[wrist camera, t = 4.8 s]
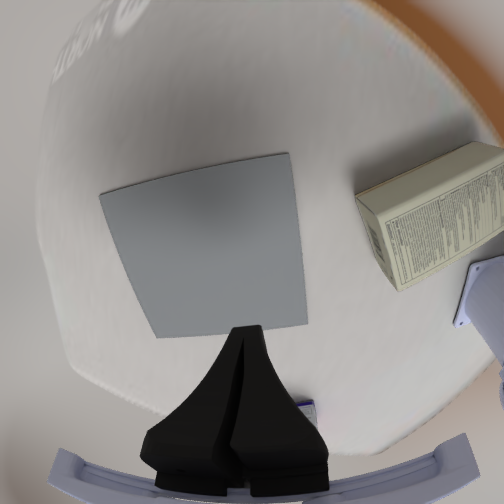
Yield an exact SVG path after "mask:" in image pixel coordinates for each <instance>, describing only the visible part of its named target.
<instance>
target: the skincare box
mask: <svg viewBox="0 0 504 504" xmlns="http://www.w3.org/2000/svg"><path fill="white" fill-rule="evenodd" d="M355 199H356V203H357V206H358V208H359V211H360V214H361V216H362V219H363V222H364V224H365V227H366V230H367V233H368V236H369V239H370V242H371V245H372V248H373V251H374V254H375V257H376V260H377V262H378V264H379V266H380V268H381V269H382V271H383V272H384V274H385V275H386V277H387V278H388V280H389V281H390V282H391V284H392V285H393V286H394V287H395V288H396V290H397V292H399V291H402V290H404V289H406V288H408V287H410V286H412V285H414V284H416V283H417V282H419V281H421V280H423V279H425V278H427V277H428V276H430V275H432V274H434V273H436V272H437V271H439V270H441V269H443V268H444V267H446V266H448V265H450V264H451V263H453V262H455V261H457V260H458V259H460V258H462V257H463V256H465V255H467V254H468V253H470V252H471V251H473V250H475V249H476V248H478V247H479V246H481V245H483V244H484V243H486V242H487V241H489V240H490V239H492V238H493V237H495V236H496V235H498V234H499V233H500V232H502V231H503V230H504V149H502V148H498V147H495V146H491V145H488V144H483V143H479V142H471V143H469V144H467V145H465V146H462V147H460V148H458V149H456V150H453V151H451V152H449V153H447V154H444V155H442V156H440V157H438V158H436V159H434V160H431V161H429V162H427V163H425V164H422V165H420V166H418V167H416V168H414V169H412V170H409V171H407V172H405V173H403V174H401V175H398V176H396V177H394V178H392V179H390V180H387V181H385V182H383V183H381V184H379V185H377V186H374V187H372V188H370V189H368V190H365V191H363V192H361V193H359V194H357V195H355Z"/></svg>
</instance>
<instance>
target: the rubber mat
mask: <svg viewBox="0 0 504 504" xmlns="http://www.w3.org/2000/svg"><path fill="white" fill-rule="evenodd" d="M99 199H100V202H101V206H102V209H103V212H104V215H105V218H106V221H107V224H108V227H109V229H110V232H111V235H112V238H113V240H114V243H115V246H116V248H117V251H118V254H119V256H120V259H121V261H122V264H123V266H124V269H125V271H126V274H127V276H128V278H129V281H130V283H131V285H132V288H133V290H134V292H135V294H136V297H137V299H138V301H139V303H140V305H141V307H142V310H143V312H144V314H145V316H146V318H147V320H148V322H149V324H150V326H151V328H152V330H153V332H154V334H155V336H156V338H176V337H193V336H208V335H220V334H230V331H231V329H232V328H233V327H240V326H250V325H261V326H262V330H269V329H277V328H284V327H292V326H299V325H306V324H308V316H307V303H306V291H305V280H304V269H303V259H302V249H301V240H300V231H299V223H298V214H297V206H296V199H295V191H294V184H293V177H292V170H291V163H290V156H289V153H288V154H281V155H274V156H267V157H261V158H254V159H249V160H243V161H237V162H232V163H226V164H221V165H216V166H211V167H206V168H202V169H197V170H192V171H188V172H184V173H179V174H175V175H171V176H167V177H163V178H159V179H155V180H151V181H147V182H144V183H140V184H136V185H133V186H129V187H126V188H122V189H119V190H116V191H112V192H109V193H106V194H103V195H100V196H99Z"/></svg>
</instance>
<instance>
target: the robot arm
mask: <svg viewBox="0 0 504 504" xmlns="http://www.w3.org/2000/svg"><path fill="white" fill-rule="evenodd" d="M471 322H472V324H473V325H474V326H475V328H476V329H477V330H478V332H479V333H480V334H481V336H482V337H483V339H484V340H485V342H486V343H487V344H488V346H489V347H490V349H491V350H492V352H493V353H494V355H495V356H496V358H497V359H498V361H499V363H500V364H501V366H502V367H503V368H502V370H501V371H500V373H499V375H500V377H501V378H502V382H501V384H500V401H501V405H502V408H503V410H504V255H503V256H499V257H496V258H492V259H488V260H485V261H481V262H477V263H473V264H472V265H471V266H470V268H469V272H468V276H467V280H466V284H465V288H464V292H463V295H462V299H461V302H460V305H459V309H458V312H457V315H456V318H455V321H454V327H455V328H457V327H460V326H463V325H466V324H468V323H471ZM328 455H329V453H328V449H327V446H326V444H325V442H324V440H323V439H322V437H321V435H320V434H319V432H318V430H317V428H316V427H315V426H314V425H313V424H312V423H311V422H310V420H309V419H308V418H307V417H306V416H305V415H304V414H303V412H302V411H301V410H300V409H299V407H298V406H297V405H296V403H295V402H294V401H293V399H292V398H291V397H290V395H289V394H288V392H287V391H286V389H285V388H284V386H283V384H282V383H281V381H280V379H279V377H278V376H277V374H276V372H275V370H274V368H273V366H272V363H271V361H270V359H269V356H268V354H267V349H266V344H265V339H264V335H263V330H262V326H261V325H250V326H240V327H233V328H232V329H231V331H230V334H229V336H228V338H227V340H226V342H225V344H224V346H223V348H222V350H221V351H220V353H219V355H218V357H217V358H216V360H215V362H214V363H213V365H212V367H211V368H210V370H209V371H208V373H207V374H206V376H205V377H204V378H203V380H202V381H201V382H200V384H199V385H198V386H197V387H196V389H195V390H194V391H193V392H192V393H191V394H190V395H189V396H188V398H187V399H186V400H185V401H184V402H183V403H182V404H181V405H180V406H179V407H177V408H176V409H175V410H174V411H173V412H172V413H171V414H170V415H168V416H167V417H166V418H165V419H163V420H162V421H161V422H159V423H158V424H156V425H155V426H154V427H153V428H151V429H149V430H148V431H147V434H146V436H145V438H144V441H143V445H142V449H141V453H140V458H141V459H142V460H143V461H144V462H145V463H146V464H148V465H149V466H150V467H152V468H153V469H155V470H156V471H157V475H156V479H155V480H153V479H148V478H143V477H139V476H135V475H130V474H126V473H123V472H119V471H115V470H112V469H108V468H104V467H101V466H98V465H95V464H92V463H89V462H86V461H84V459H82V458H81V457H79V456H78V455H76V454H74V453H72V452H69V451H67V450H64V449H62V448H59V451H58V453H57V455H56V458H55V461H54V463H53V466H52V469H51V471H50V475H49V477H48V480H47V483H48V484H50V485H52V486H54V487H55V488H57V489H59V490H61V491H62V492H64V493H66V494H68V495H71V496H72V497H74V498H76V499H78V500H80V501H83V502H85V503H87V504H211V503H201V502H192V501H184V500H177V499H175V498H180V499H187V500H194V501H204V502H215V503H232V504H269V503H285V502H286V503H287V502H298V501H303V502H302V504H431V503H433V502H435V501H438V500H440V499H442V498H444V497H446V496H448V495H450V494H452V493H454V492H456V491H458V490H459V489H461V488H463V487H465V486H466V485H468V484H470V483H471V482H473V481H474V480H476V479H478V478H479V477H480V472H479V469H478V466H477V463H476V460H475V457H474V454H473V452H472V449H471V446H470V444H469V441H468V438H467V436H466V433H462V434H460V435H458V436H456V437H454V438H452V439H450V440H447V441H445V442H443V443H442V444H440V445H438V446H437V447H436V448H435V450H434V451H433V452H430V453H428V454H425V455H423V456H421V457H418V458H415V459H412V460H409V461H407V462H404V463H401V464H398V465H395V466H392V467H389V468H385V469H381V470H378V471H374V472H370V473H366V474H363V475H358V476H354V477H349V478H345V479H340V480H334V481H329V477H328V464H327V461H328ZM167 496H168V497H167ZM171 497H173V498H171Z"/></svg>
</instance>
